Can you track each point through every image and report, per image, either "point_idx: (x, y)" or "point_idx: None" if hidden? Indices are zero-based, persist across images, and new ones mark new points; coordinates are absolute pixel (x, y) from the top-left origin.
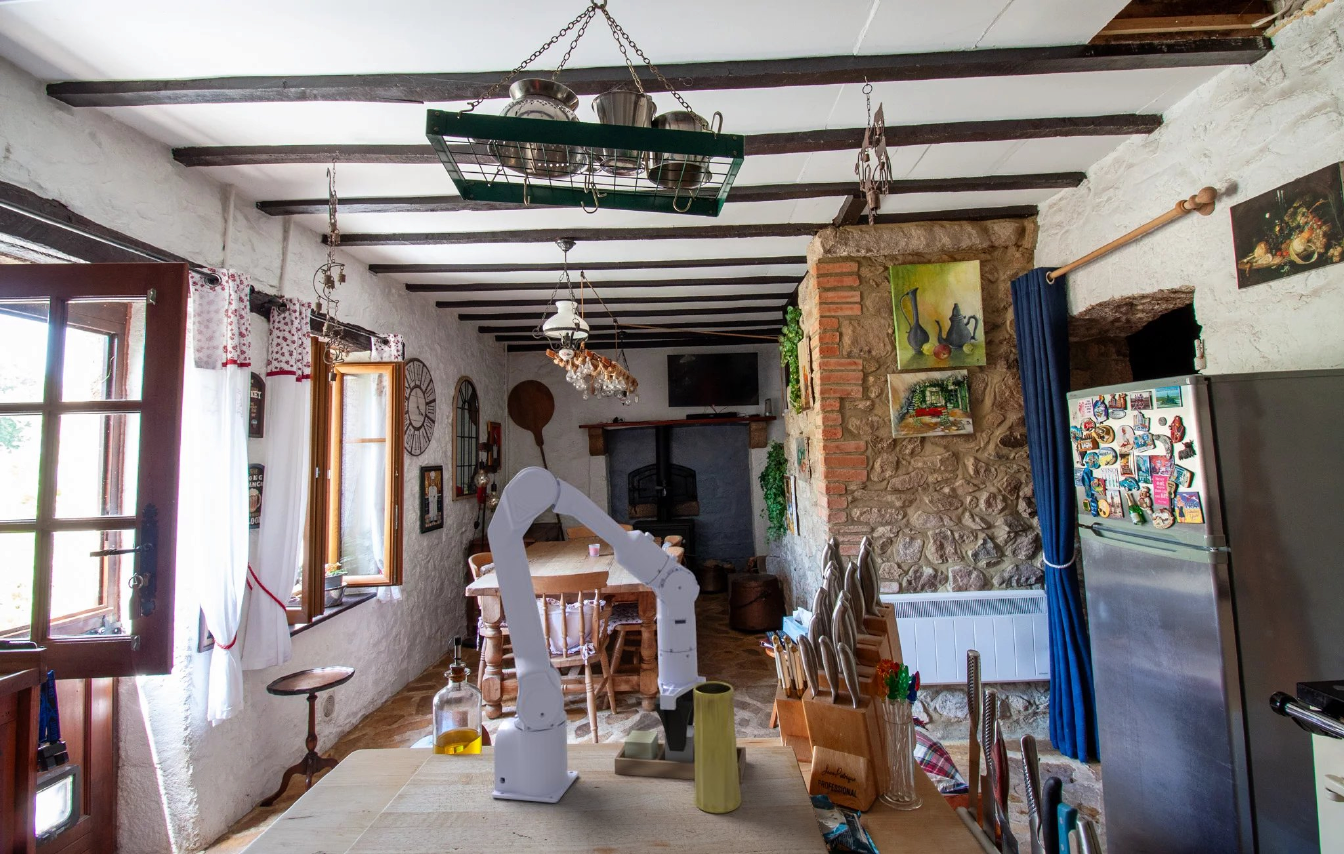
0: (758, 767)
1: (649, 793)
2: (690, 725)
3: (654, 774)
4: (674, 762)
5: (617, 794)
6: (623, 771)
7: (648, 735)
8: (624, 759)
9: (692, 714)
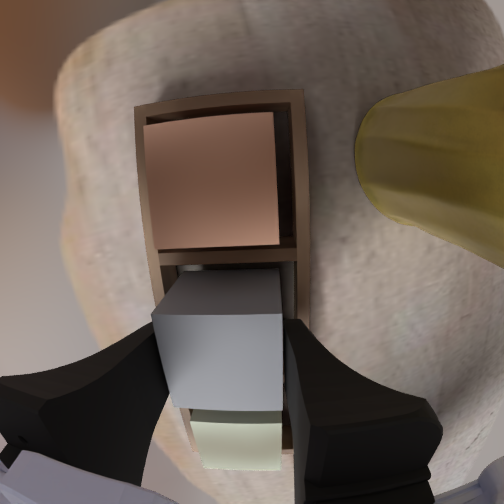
0: (184, 69)
1: (388, 341)
2: (157, 341)
3: None
4: None
5: None
6: None
7: (226, 437)
8: None
9: (129, 358)
